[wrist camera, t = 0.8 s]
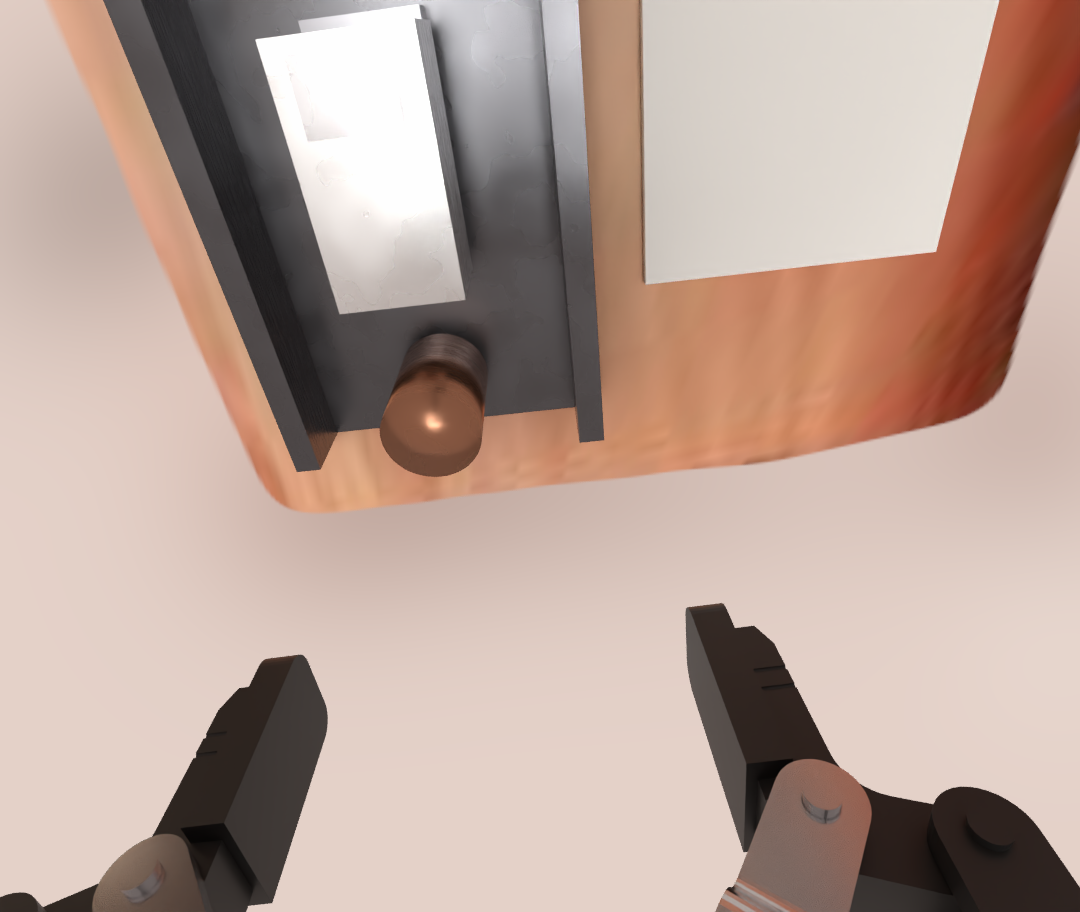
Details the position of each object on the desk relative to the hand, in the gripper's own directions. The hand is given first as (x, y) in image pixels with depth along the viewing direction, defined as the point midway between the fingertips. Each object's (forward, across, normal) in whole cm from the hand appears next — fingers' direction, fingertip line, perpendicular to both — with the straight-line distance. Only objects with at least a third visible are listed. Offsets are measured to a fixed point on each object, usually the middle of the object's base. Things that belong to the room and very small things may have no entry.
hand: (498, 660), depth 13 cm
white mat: (+21, -14, -9) cm, 27 cm away
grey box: (+18, +3, -9) cm, 21 cm away
